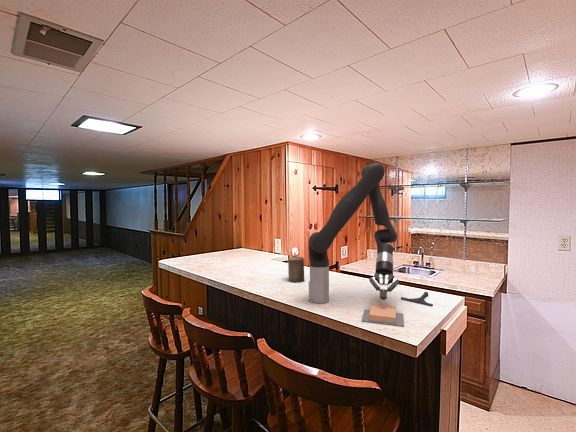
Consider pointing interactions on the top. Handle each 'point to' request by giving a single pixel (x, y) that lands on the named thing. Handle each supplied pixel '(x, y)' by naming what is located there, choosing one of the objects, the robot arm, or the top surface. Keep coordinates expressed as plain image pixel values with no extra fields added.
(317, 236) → the robot arm
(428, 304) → the bracket
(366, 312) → the mat
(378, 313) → the tile
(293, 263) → the pillar candle
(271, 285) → the top surface
